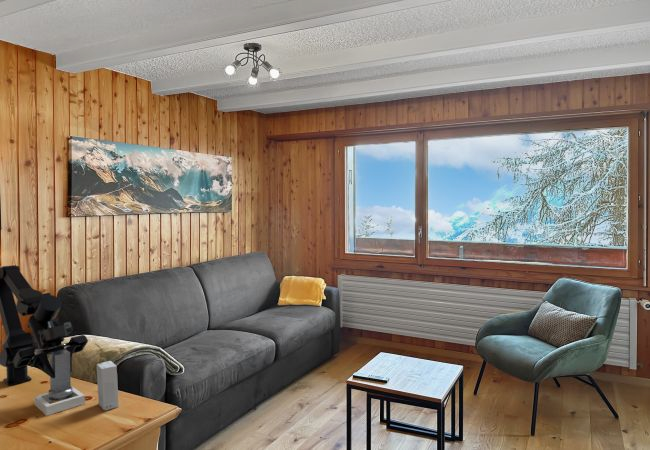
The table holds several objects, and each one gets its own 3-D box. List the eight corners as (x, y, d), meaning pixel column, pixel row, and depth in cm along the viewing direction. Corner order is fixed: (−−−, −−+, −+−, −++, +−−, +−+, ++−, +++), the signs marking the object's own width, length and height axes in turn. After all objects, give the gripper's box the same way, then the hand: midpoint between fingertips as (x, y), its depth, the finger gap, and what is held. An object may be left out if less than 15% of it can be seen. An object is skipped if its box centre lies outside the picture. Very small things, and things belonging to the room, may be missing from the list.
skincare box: (119, 407, 132) (118, 365, 131) (102, 411, 129) (101, 369, 128) (113, 399, 137) (112, 359, 136) (96, 404, 134) (96, 363, 133)
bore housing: (34, 404, 133) (34, 396, 133) (71, 393, 140) (71, 385, 140) (46, 415, 126) (46, 406, 126) (85, 403, 134) (84, 395, 134)
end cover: (45, 396, 133) (44, 352, 132) (67, 390, 138) (67, 347, 137) (52, 402, 129) (52, 357, 128) (75, 396, 134) (75, 352, 133)
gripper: (16, 321, 127) (35, 369, 121) (84, 308, 142) (104, 351, 136) (5, 344, 132) (23, 391, 126) (72, 329, 147) (90, 371, 141)
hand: (62, 375), depth 132 cm, fingers closed on end cover, 4 cm apart
